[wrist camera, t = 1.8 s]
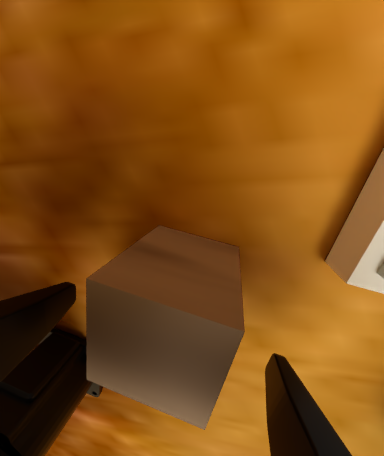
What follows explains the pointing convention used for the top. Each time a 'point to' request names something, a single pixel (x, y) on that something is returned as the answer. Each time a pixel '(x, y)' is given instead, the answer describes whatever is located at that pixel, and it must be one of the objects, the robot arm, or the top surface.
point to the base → (363, 237)
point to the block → (166, 322)
